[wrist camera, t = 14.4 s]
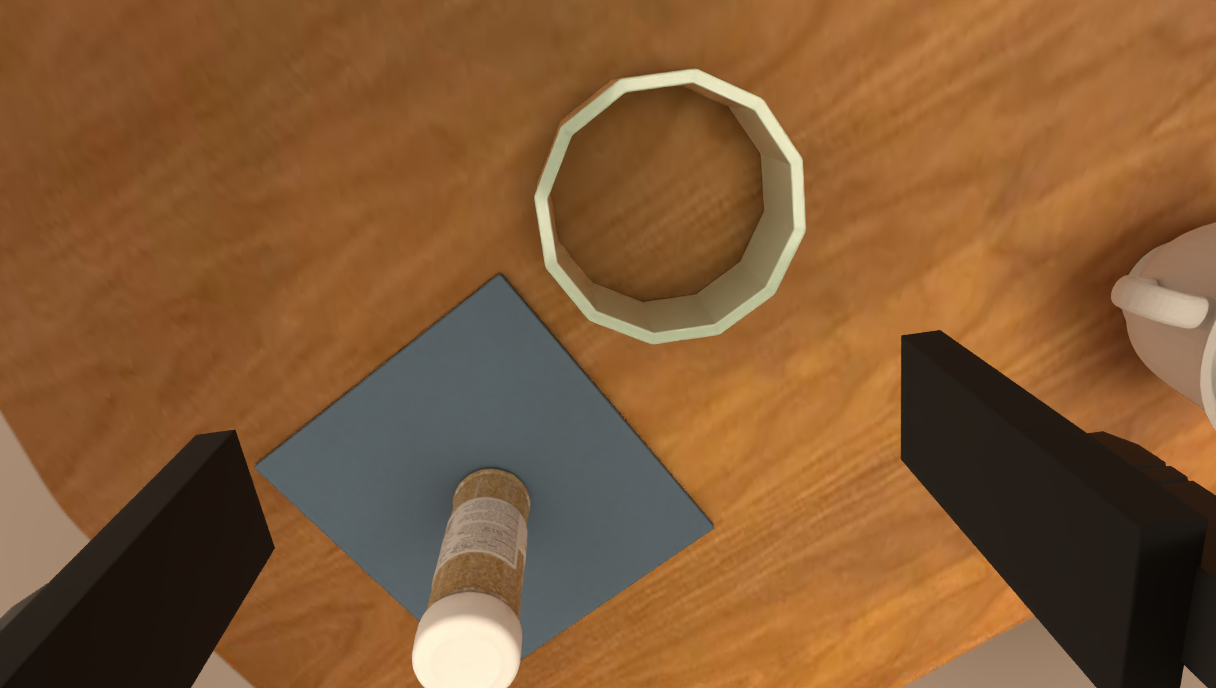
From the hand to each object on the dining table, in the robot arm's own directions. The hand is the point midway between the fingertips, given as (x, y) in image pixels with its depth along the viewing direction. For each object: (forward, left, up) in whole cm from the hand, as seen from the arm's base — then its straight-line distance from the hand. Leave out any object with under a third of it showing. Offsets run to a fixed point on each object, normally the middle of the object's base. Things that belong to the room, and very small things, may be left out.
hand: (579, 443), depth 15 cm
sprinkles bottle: (+10, -14, -26) cm, 31 cm away
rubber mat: (+10, -14, -26) cm, 31 cm away
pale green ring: (+2, +4, -26) cm, 27 cm away
